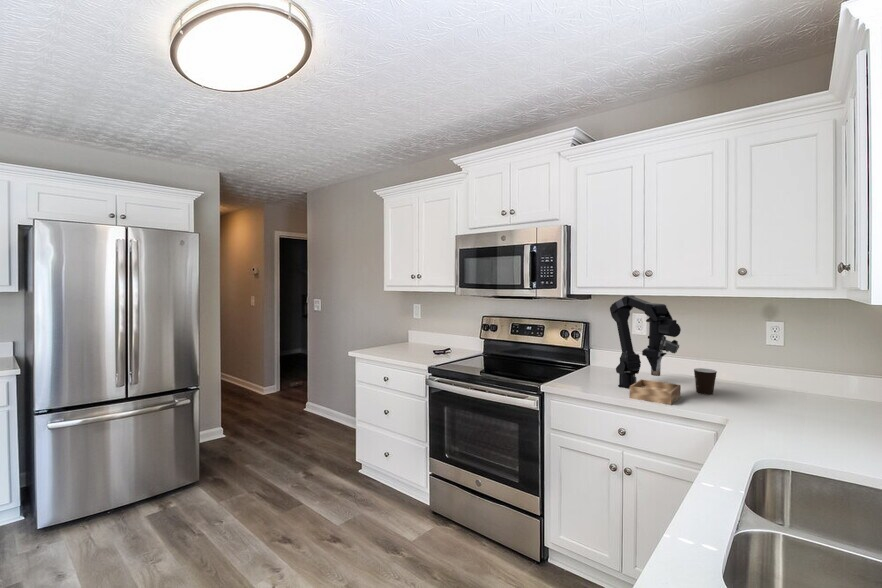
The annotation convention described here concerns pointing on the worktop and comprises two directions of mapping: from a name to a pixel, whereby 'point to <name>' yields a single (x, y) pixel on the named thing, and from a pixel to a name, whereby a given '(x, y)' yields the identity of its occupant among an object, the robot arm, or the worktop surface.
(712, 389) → the coffee mug
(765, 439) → the worktop surface
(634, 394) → the tray
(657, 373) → the peg
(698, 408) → the worktop surface
